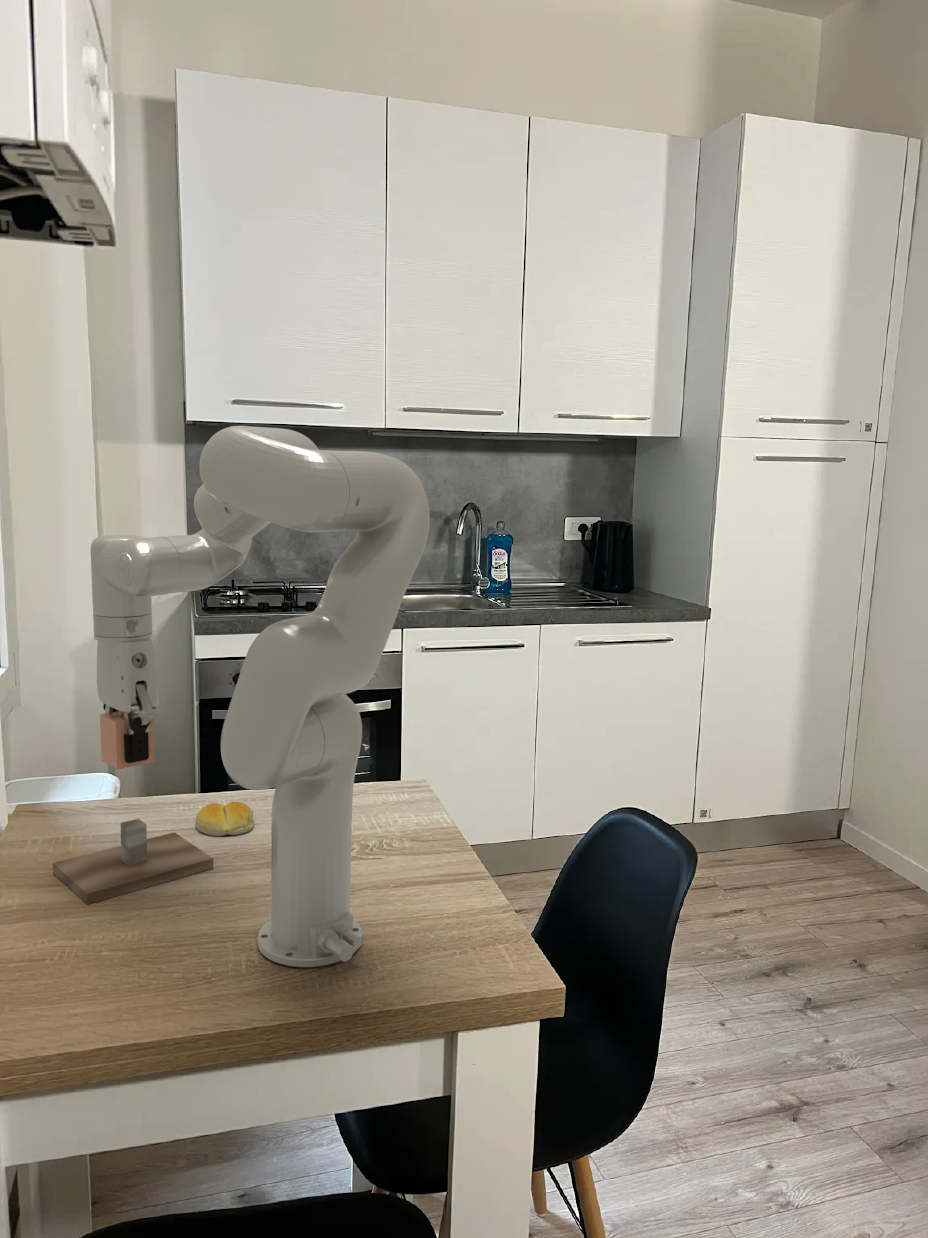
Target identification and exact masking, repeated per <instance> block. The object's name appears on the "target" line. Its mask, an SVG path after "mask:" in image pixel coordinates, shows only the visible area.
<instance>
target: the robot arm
mask: <svg viewBox="0 0 928 1238" xmlns="http://www.w3.org/2000/svg"><path fill="white" fill-rule="evenodd" d="M198 465H199V476H200V479H201V482H202V485H200V487H199V488H198V489H197V491H196V492H195V495H194V499H193V509H194V513H195V517H196V519H197V522H198V524H199V525H200V526H201V527H202V529H201V530H199V531H197V532H196V533H193V534H187V535H186V534H185V535H168V536H166V535H165V536H156V537H143V536H139V535H134V534H133V535H132V534H111V535H101V536H98V537H95V539H93V540H92V542H91V543H90V570H91V575H90V576H91V594H92V595H91V597H92V598H91V599H92V618H93V620H92V621H93V639H94V640H96V641H97V648H96V649H97V650H96V687H97V688H96V689H97V697H98V699H99V701H100V702H101V703H102V704H103V705H102V708H103V710H104V713H111V712H117V711H121V712H123V713H124V719H125V725H126V731H127V734H124V754H125V762H127V763H133V762H138V761H143V760H147V759H148V758H149V742H148V732H149V724H150V721H151V719H152V718H154V717H155V713H154V710H156V709H158V707H159V705H160V696H159V683H158V681H159V679H158V671H157V670H158V669H157V661H156V654H155V649H154V648H155V647H154V644H153V639H152V638H153V635H154V633H153V608H152V604H153V603H152V602H153V601H152V597H156V596H162V595H163V596H165V595H169V594H175V593H185V592H196V591H201V590H204V589H207V588H209V587H211V586H212V587H213V585H215V584H217V583H218V582H220V581H222V580H223V579H224V578H226V577H228V576H229V575H230V574H232V573H233V572H234V571H236V570H237V569H238V568H239V567H240V566H241V565H243V563H244V562H245V561H246V559H247V557H248V554H249V551H250V549H251V546H252V542H253V541H252V539H253V537H254V536H256V535H257V534H258V533H259V532H262V531H263V530H264V529H265V528H267V527H268V526H269V525H270V524H272V523H273V524H274V525H275V524H276V525H278V526H281V527H284V528H287V529H291V530H294V531H298V532H302V533H303V532H304V533H328V532H332V533H333V532H346V531H347V532H348V531H356V535H355V537H354V538H353V540H352V541H351V542H350V544H349V545H348V547H346V549H345V550H344V551H343V552H342V553H341V555H340V556H339V558H337V561H336V562H335V564H334V565H333V567H332V569H331V571H330V573H329V576H328V578H327V582H326V585H325V588H324V592H323V593H322V595H321V598H320V601H319V603H318V605H317V607H315V609H314V610H313V611H312V612H310V613H308V614H305V615H303V616H296V617H291V618H286V619H282V620H279V621H277V622H274V623H272V624H269V625H268V626H267V627H265V628H264V629H263V630H262V631H261V632H260V633H259V634H258V635H257V636H256V637H255V638H254V640H253V641H252V643H251V645H250V646H249V648H248V651H247V652H246V656H245V658H244V660H243V664H242V667H241V669H240V671H239V672H240V673H239V676H238V678H237V682H236V685H235V688H234V691H233V693H232V696H231V700H230V703H229V706H228V710H227V713H226V715H225V718H224V722H223V726H222V730H221V736H220V755H221V760H222V763H223V766H224V769H225V771H226V773H227V774H228V776H229V777H230V779H231V780H232V781H233V782H234V783H235V784H237V785H238V786H240V787H242V788H244V789H246V790H252V791H266V790H269V789H273V788H274V793H273V798H272V804H271V829H270V832H271V833H270V835H271V839H270V845H271V846H270V847H271V848H270V853H271V854H270V860H271V861H270V875H271V876H270V920H268V921H267V922H266V923H264V924H263V925H262V926H261V927H260V929H259V930H258V933H257V947H258V950H259V951H260V953H261V954H262V955H263V956H264V957H265V958H267V959H268V960H270V961H271V962H274V963H276V964H279V965H282V966H288V967H294V968H315V967H317V968H318V967H323V966H330V965H332V964H336V963H339V962H343V963H344V962H345V963H346V962H348V961H350V959H352V957H353V954H354V953H355V952H357V950H358V949H360V947H362V945H363V942H364V940H363V935H362V934H363V931H362V930H363V929H362V927H361V926H360V924H359V923H358V922H357V921H356V920H355V919H354V915H353V914H352V913H351V912H350V911H351V872H352V871H351V870H352V869H351V868H352V861H351V860H352V829H353V828H352V827H353V826H352V824H353V823H352V822H353V800H354V799H353V797H354V784H355V777H356V776H355V775H356V771H357V770H356V769H357V765H358V761H359V757H360V753H361V752H360V751H361V746H362V739H363V723H362V718H361V714H360V712H359V710H358V707H357V705H356V704H355V703H354V701H353V700H352V699H351V698H350V697H349V696H348V695H347V694H350V693H353V692H356V691H358V690H359V689H362V688H363V687H365V686H366V685H367V684H368V683H369V682H370V681H371V680H372V678H373V677H374V675H375V672H376V671H377V668H378V665H379V663H380V661H381V659H382V658H381V657H382V655H383V652H384V650H385V648H386V646H387V643H388V639H389V637H390V634H391V632H392V630H393V628H394V624H395V622H396V620H397V619H396V618H397V616H398V614H399V611H400V607H401V604H402V602H403V600H404V597H405V595H406V592H407V589H408V587H409V585H410V582H411V581H412V578H413V577H414V574H415V573H416V569H418V565H419V564H420V561H421V559H422V556H423V554H424V551H425V548H426V546H427V542H428V538H429V532H430V524H431V523H430V521H431V516H430V515H431V514H430V506H429V500H428V497H427V494H426V491H425V487H424V486H423V484H422V482H421V480H420V478H419V477H418V476H417V474H416V473H415V472H414V470H413V469H411V467H410V466H409V465H407V464H406V463H405V462H404V461H402V460H400V459H398V458H396V457H393V456H390V455H388V454H383V453H380V452H373V451H358V450H333V449H332V450H329V449H328V450H326V449H324V450H323V449H319V448H318V446H317V445H316V444H315V443H314V442H313V440H311V439H310V438H309V437H307V436H306V435H304V434H303V433H301V432H299V431H297V430H296V431H295V430H293V429H289V428H281V427H280V428H279V427H266V426H249V425H231V426H229V427H225V428H223V429H220V430H219V431H217V432H215V433H214V434H213V435H212V436H211V437H210V438H209V439H208V441H207V442H206V444H205V445H204V446H203V449H202V451H201V453H200V458H199V464H198ZM132 707H138V709H139V710H134V711H131V710H132V709H133V708H132ZM138 714H139V717H136V718H135V720H134V721H133V723H132V715H138Z"/></svg>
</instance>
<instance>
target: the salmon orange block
mask: <svg viewBox="0 0 928 1238" xmlns="http://www.w3.org/2000/svg"><path fill="white" fill-rule="evenodd" d="M134 710H139V708H132V710H131V711H134ZM136 717H139V714H138V715H132V723H133V721H134V720H135V718H136ZM153 718H154V717H153ZM153 718H152V719H151V721H150V724H149V732H148V742H149V758H148V759H147V760H143V761H138V762H133V763H127V762H125V754H124V734H127V731H126V725H125V719H124V713H123V712H121V711H117V712H111V713H105V712H104V713H100V714H99V726H100V727H99V728H100V751H101V752H100V754H101V761H102V762H103V763H104V764H105V763H106V764H107V765H109V766H111V767H113V768H114V769H115V770H122V769H126V768H130V767H131V768H132V767H136V766H142V765H146V764H147V765H148V764H151V763H154V762H155V752H154V725H153V724H154V723H153V722H154V721H153V720H154V719H153Z"/></svg>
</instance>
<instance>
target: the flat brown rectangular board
mask: <svg viewBox="0 0 928 1238" xmlns="http://www.w3.org/2000/svg"><path fill="white" fill-rule="evenodd" d="M147 834H148V831H147V823H145V821H143V820H142V819H140V818H134V819H130V820H126V821H122V822H120V845H119V846H114V847H110V848H106V849H103V850H99V851H95V852H91V853H86V854H83V855H79V856H75V857H71V858H67V859H63V860H58V861H55V862H52V873H53V875H54V876H56V877H57V878H58V879H59V880H60V882H62V883H64V885H65V886H67V887H68V888H69V889H70V890H71V891H72V892H73V893H74V894H75V895H76V896H78V897H79V898H80V899H81V901H83V902H84V903H85V904H86V905H90V904H93V903H98V902H100V901H101V902H102V901H104V900H108V899H112V898H115V897H118V896H122V895H125V894H129V893H133V892H135V891H139V890H143V889H145V888H146V889H147V888H150V887H154V886H156V885H160V884H162V883H163V884H164V883H167V882H171V881H174V880H177V879H180V878H181V879H182V878H184V877H189V876H191V875H194V874H199V873H203V872H205V871H209V870H212V869H214V857H212V856H211V855H209V854H208V853H206V852H205V851H203V850H202V849H200V848H198V847H197V846H196V845H194V844H193V843H191V842H190V841H188V840H187V839H185V838H184V837H183V836H181V835H179V834H177V832H170V833H166V834H163V835H159V836H154V837H151V838H148V835H147Z"/></svg>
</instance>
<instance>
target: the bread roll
mask: <svg viewBox="0 0 928 1238" xmlns="http://www.w3.org/2000/svg"><path fill="white" fill-rule="evenodd" d="M195 826H196V827H195V828H196V829H197V830H198V831H199V832H200V833H202V834H205V835H208V836H211V837H223V836H226V835H230V836H238V835H243V834H245V833H248V832H250V831H251V830H252V829H253V827H254V811H253V809H251V807H250V806H249V805H248V804H246V803H244V802H240V801H231V802H228V803H226V804H221V803H217V802H215V803H209V804H207V805H205V806H203V807H202V808H200V810H199V811H198V812H197V814H196V817H195Z"/></svg>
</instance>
